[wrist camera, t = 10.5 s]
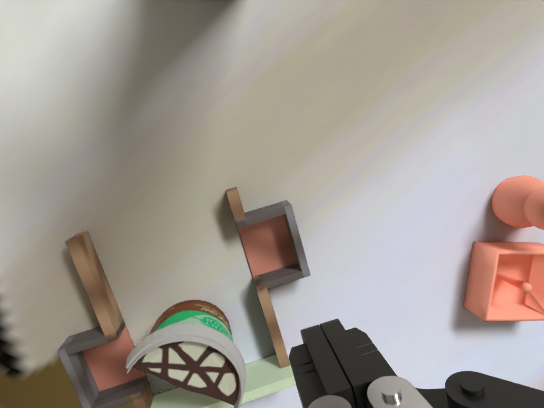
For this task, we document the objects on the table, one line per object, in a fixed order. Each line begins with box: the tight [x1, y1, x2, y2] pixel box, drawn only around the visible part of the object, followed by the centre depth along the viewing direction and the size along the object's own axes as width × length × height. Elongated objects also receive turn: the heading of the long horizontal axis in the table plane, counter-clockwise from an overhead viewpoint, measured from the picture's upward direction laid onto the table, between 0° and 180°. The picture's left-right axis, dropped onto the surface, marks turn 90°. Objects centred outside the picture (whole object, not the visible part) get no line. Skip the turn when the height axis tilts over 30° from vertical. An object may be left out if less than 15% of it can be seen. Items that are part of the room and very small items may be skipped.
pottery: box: [463, 176, 544, 321], centre depth 43 cm, size 18×10×10 cm, turn 177°
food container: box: [126, 300, 246, 408], centre depth 39 cm, size 12×6×10 cm, turn 61°
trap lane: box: [57, 187, 310, 408], centre depth 40 cm, size 23×29×5 cm
